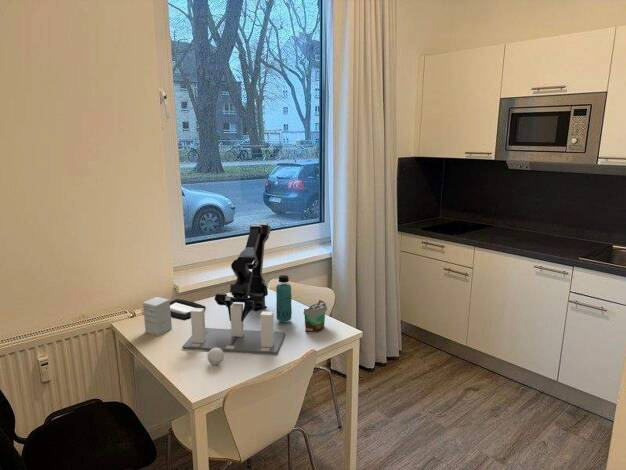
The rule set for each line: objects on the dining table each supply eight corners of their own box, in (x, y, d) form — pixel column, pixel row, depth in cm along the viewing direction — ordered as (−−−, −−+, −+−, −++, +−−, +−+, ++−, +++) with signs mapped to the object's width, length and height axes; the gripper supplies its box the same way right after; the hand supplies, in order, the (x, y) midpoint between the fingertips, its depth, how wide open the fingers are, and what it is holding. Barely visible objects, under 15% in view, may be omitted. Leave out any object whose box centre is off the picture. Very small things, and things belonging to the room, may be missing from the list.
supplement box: (159, 325, 176) (156, 296, 173) (172, 328, 172) (170, 299, 169) (144, 332, 169) (141, 302, 166) (158, 336, 166) (155, 305, 163)
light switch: (152, 308, 189) (176, 295, 200) (153, 314, 189) (177, 301, 201) (184, 317, 179) (208, 303, 190) (185, 324, 180) (209, 309, 191)
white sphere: (225, 358, 149) (224, 344, 148) (224, 367, 144) (223, 352, 142) (202, 360, 148) (201, 345, 147) (200, 368, 143) (199, 353, 141)
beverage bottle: (273, 323, 177) (272, 277, 172) (280, 317, 183) (279, 272, 178) (287, 326, 174) (287, 279, 170) (294, 320, 180) (294, 274, 176)
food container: (316, 336, 165) (316, 312, 163) (303, 333, 169) (303, 309, 166) (332, 325, 176) (332, 302, 173) (319, 321, 179) (319, 299, 176)
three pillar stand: (199, 329, 171) (197, 298, 168) (285, 334, 167) (284, 302, 164) (182, 349, 156) (179, 314, 153) (276, 354, 152) (276, 319, 149)
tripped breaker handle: (233, 332, 166) (232, 303, 163) (244, 333, 165) (242, 303, 163) (231, 336, 163) (230, 306, 160) (241, 336, 162) (240, 307, 160)
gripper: (214, 273, 164) (205, 311, 156) (262, 275, 162) (256, 314, 153) (222, 285, 173) (214, 322, 165) (267, 287, 171) (261, 325, 163)
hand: (236, 321), depth 161 cm, fingers closed on tripped breaker handle, 4 cm apart
